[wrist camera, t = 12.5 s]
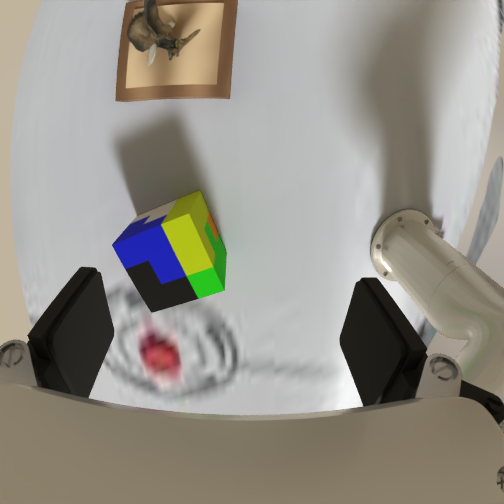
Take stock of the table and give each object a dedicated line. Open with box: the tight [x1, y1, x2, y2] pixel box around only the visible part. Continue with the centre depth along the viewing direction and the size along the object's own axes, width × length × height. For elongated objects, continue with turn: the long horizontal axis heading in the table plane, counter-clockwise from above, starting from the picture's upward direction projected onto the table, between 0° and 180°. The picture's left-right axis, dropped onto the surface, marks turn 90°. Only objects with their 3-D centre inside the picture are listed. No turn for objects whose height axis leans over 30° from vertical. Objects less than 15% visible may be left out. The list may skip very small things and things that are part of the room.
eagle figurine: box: [127, 0, 200, 66], centre depth 23 cm, size 8×7×9 cm
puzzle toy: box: [112, 190, 227, 313], centre depth 37 cm, size 10×10×10 cm
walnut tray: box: [116, 0, 238, 102], centre depth 28 cm, size 14×14×4 cm
